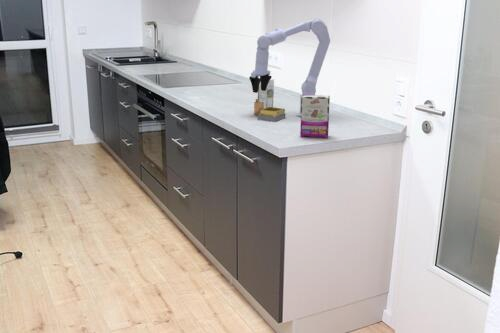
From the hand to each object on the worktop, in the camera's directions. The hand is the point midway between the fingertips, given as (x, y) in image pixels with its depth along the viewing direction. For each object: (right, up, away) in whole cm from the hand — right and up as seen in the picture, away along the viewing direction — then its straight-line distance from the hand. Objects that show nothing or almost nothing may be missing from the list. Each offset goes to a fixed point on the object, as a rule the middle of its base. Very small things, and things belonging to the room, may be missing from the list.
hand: (259, 91), depth 263 cm
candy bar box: (+22, -23, -35) cm, 47 cm away
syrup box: (+3, -6, +20) cm, 21 cm away
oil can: (0, -11, +3) cm, 11 cm away
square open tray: (+6, -13, -5) cm, 15 cm away
